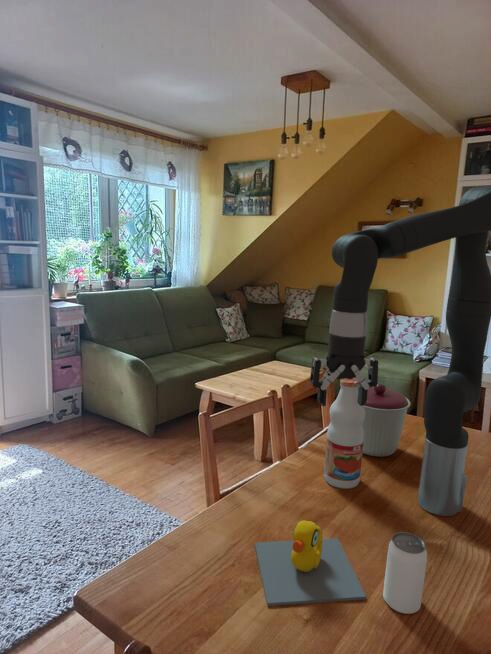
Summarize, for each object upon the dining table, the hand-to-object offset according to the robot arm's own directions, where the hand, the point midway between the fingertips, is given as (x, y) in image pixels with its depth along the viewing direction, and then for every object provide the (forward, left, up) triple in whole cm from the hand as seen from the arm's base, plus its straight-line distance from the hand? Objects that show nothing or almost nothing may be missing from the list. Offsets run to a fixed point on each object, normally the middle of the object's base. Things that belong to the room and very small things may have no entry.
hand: (341, 404), depth 99 cm
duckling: (+10, +15, -28) cm, 33 cm away
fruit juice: (-8, -17, -28) cm, 34 cm away
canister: (-24, -34, -28) cm, 50 cm away
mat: (+10, +15, -28) cm, 33 cm away
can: (-5, +24, -28) cm, 37 cm away
